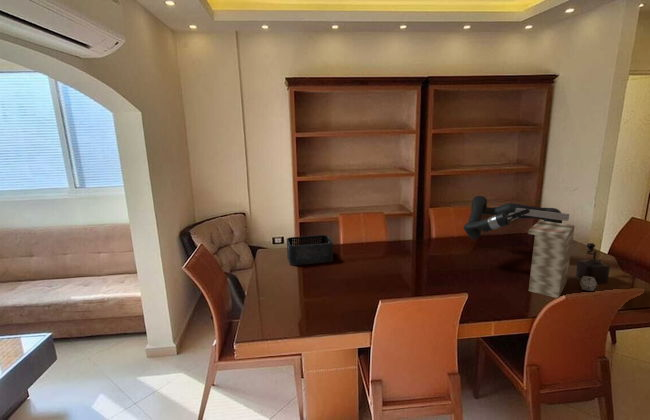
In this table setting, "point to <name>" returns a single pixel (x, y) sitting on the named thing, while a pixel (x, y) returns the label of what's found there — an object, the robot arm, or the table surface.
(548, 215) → the steel bar
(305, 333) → the table surface
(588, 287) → the game die
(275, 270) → the table surface
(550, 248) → the zigzag patterned box
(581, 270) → the black coffee grinder
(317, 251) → the storage bin
